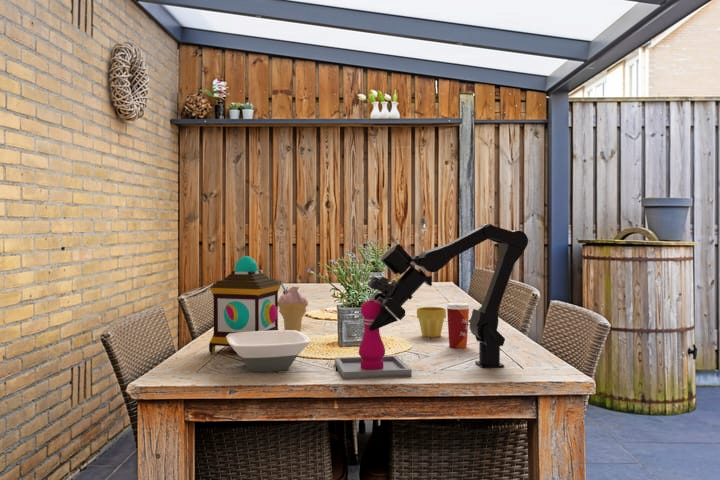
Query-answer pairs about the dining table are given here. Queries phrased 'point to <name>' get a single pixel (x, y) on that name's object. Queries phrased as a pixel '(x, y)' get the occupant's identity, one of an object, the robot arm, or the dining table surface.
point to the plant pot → (431, 320)
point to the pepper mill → (371, 337)
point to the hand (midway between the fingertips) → (366, 327)
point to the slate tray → (353, 370)
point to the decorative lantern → (244, 302)
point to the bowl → (268, 348)
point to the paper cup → (458, 324)
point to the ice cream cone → (292, 308)
